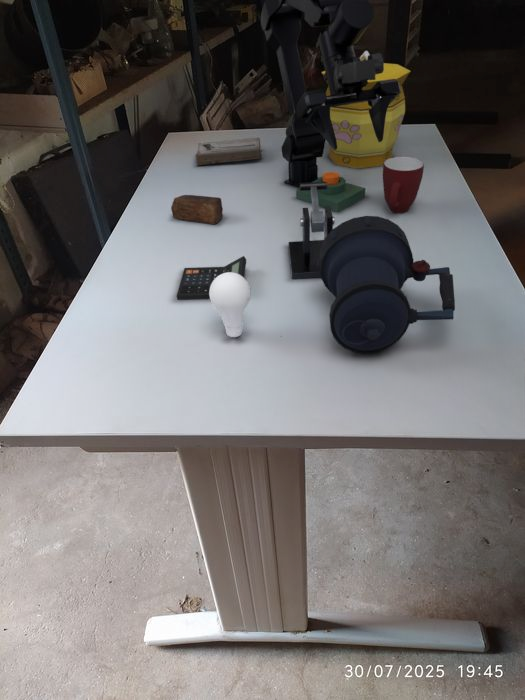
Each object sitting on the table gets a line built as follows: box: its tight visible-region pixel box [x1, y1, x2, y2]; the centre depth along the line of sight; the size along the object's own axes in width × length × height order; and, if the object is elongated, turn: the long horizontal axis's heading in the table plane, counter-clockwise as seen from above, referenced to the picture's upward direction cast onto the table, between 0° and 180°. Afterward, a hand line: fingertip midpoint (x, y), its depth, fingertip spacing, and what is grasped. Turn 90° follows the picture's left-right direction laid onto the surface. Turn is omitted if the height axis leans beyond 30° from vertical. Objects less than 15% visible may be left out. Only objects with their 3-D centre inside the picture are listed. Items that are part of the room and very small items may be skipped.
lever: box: [300, 182, 327, 233], centre depth 98 cm, size 11×5×2 cm, turn 1°
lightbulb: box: [209, 272, 252, 338], centre depth 81 cm, size 6×6×11 cm
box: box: [195, 137, 263, 166], centre depth 145 cm, size 11×17×3 cm, turn 91°
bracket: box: [288, 206, 336, 280], centre depth 98 cm, size 12×10×10 cm
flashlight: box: [317, 215, 456, 354], centre depth 80 cm, size 15×21×20 cm
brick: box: [170, 194, 224, 225], centre depth 117 cm, size 11×4×5 cm, turn 69°
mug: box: [382, 156, 425, 214], centre depth 112 cm, size 10×8×10 cm
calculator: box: [176, 255, 247, 301], centre depth 96 cm, size 9×12×3 cm
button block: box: [295, 176, 366, 213], centre depth 122 cm, size 12×10×4 cm
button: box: [322, 171, 340, 185], centre depth 120 cm, size 4×4×2 cm
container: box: [321, 50, 411, 170], centre depth 134 cm, size 21×21×25 cm
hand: (358, 145), depth 99 cm, fingers open, 9 cm apart
